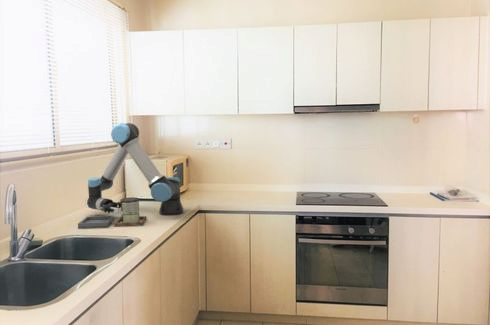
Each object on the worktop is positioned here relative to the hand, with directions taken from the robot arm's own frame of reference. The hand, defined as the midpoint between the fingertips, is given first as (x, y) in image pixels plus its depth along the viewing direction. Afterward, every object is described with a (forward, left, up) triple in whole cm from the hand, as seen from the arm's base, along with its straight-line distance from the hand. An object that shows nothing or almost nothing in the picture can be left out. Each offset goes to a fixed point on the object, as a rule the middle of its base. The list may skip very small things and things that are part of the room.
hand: (127, 208), depth 237 cm
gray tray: (+17, +2, -8) cm, 19 cm away
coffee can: (-1, +1, -9) cm, 9 cm away
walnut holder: (-2, +1, -8) cm, 9 cm away
